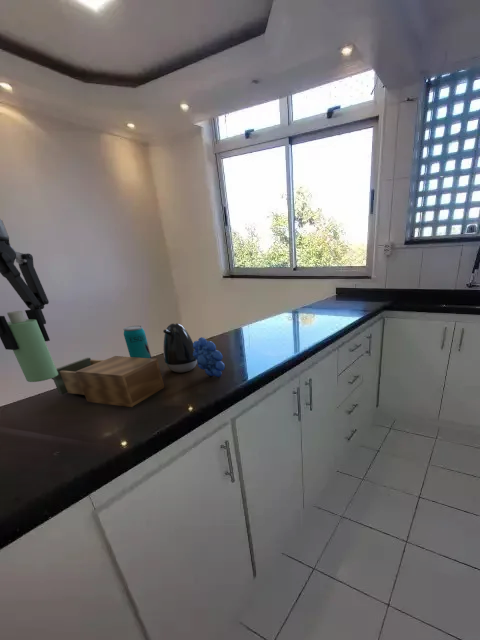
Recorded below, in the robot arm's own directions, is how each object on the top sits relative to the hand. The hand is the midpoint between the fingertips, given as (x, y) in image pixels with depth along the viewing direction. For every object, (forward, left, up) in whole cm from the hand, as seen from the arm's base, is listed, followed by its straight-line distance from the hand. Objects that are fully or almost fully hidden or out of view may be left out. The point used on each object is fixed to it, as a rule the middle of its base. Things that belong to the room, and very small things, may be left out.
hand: (28, 344), depth 65 cm
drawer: (-9, +16, -18) cm, 25 cm away
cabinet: (+4, +16, -18) cm, 25 cm away
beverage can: (-2, +30, -19) cm, 35 cm away
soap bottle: (0, 0, -7) cm, 7 cm away
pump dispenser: (+8, +36, -19) cm, 41 cm away
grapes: (+20, +32, -19) cm, 42 cm away
